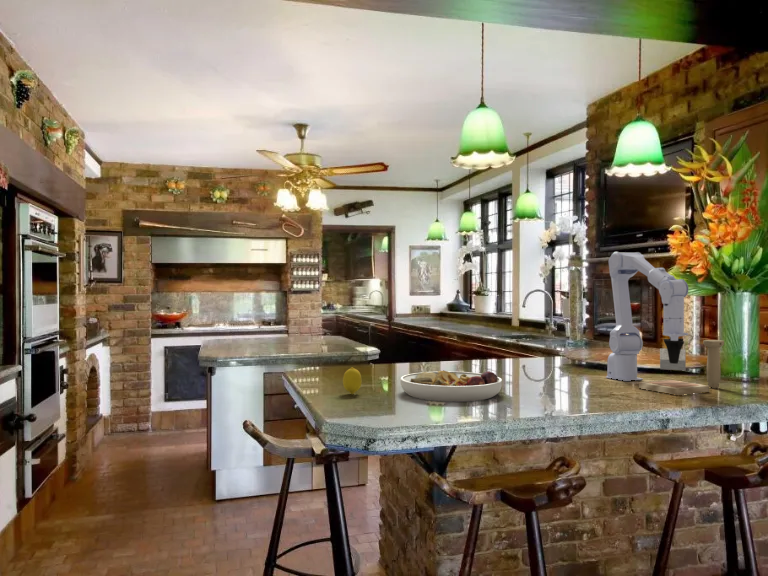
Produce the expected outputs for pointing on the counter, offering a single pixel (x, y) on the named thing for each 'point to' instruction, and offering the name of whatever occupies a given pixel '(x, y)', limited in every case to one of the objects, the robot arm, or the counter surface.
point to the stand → (674, 387)
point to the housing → (671, 366)
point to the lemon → (352, 380)
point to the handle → (713, 362)
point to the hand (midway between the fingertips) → (673, 362)
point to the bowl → (451, 386)
